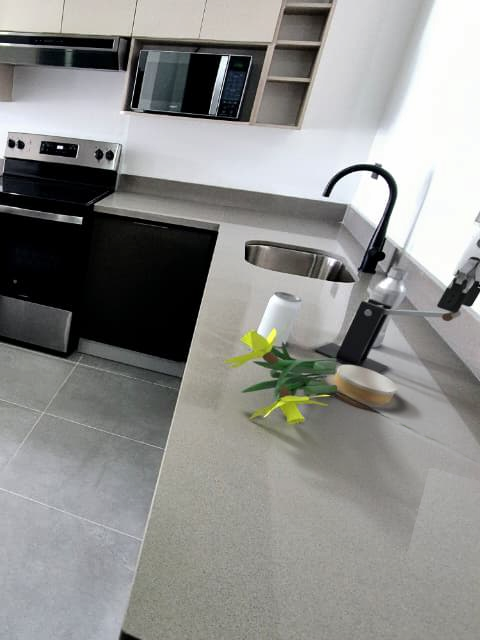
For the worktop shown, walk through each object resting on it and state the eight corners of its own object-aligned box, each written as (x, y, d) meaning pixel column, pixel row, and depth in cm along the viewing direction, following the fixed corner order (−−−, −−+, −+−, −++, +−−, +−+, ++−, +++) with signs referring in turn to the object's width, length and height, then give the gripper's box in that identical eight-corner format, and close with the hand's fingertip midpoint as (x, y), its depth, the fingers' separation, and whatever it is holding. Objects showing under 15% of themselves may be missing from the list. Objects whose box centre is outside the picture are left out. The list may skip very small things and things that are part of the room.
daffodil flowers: (377, 417, 94) (316, 429, 71) (292, 417, 105) (214, 428, 81) (363, 328, 97) (299, 312, 73) (281, 337, 107) (203, 326, 84)
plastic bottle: (348, 344, 125) (384, 268, 117) (349, 336, 130) (383, 263, 122) (378, 353, 122) (417, 277, 114) (378, 345, 127) (415, 271, 119)
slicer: (385, 371, 113) (416, 311, 107) (369, 379, 108) (401, 317, 102) (330, 347, 122) (355, 291, 115) (313, 354, 116) (339, 295, 110)
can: (279, 352, 115) (299, 304, 110) (251, 340, 119) (268, 294, 114) (287, 344, 120) (306, 298, 115) (259, 334, 123) (276, 289, 118)
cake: (386, 387, 106) (394, 371, 104) (411, 422, 93) (421, 405, 92) (313, 368, 109) (320, 353, 108) (328, 400, 97) (337, 383, 95)
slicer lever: (460, 319, 100) (461, 307, 100) (452, 323, 97) (452, 311, 96) (370, 314, 112) (371, 303, 112) (360, 317, 109) (361, 306, 109)
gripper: (519, 228, 83) (465, 320, 91) (539, 226, 93) (489, 309, 100) (464, 216, 89) (417, 304, 96) (489, 215, 99) (444, 294, 106)
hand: (454, 306), depth 98 cm, fingers open, 9 cm apart
